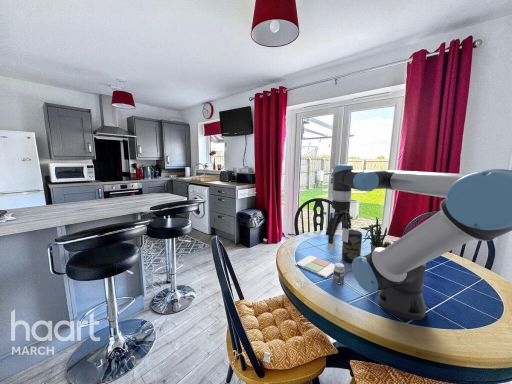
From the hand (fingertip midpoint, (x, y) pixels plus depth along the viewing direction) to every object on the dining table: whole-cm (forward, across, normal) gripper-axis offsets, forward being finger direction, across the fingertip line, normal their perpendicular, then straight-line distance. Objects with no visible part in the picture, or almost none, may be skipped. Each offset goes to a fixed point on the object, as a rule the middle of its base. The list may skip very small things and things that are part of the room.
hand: (338, 245), depth 95 cm
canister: (+18, -25, -4) cm, 31 cm away
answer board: (+18, -5, -13) cm, 22 cm away
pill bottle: (+18, 0, +1) cm, 18 cm away
